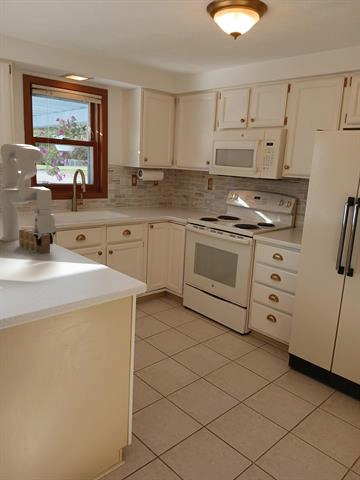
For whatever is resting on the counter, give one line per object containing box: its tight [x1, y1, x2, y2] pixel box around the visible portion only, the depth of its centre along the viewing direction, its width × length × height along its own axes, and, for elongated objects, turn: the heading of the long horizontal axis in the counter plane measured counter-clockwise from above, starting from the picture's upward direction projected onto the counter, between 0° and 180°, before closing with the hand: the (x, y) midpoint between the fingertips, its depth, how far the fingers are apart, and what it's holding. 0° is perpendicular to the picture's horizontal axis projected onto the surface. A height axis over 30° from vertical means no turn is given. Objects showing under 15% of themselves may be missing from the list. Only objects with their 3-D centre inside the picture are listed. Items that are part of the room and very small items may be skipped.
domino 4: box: [34, 233, 44, 252], centre depth 202 cm, size 2×5×10 cm, turn 144°
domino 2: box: [24, 229, 33, 249], centre depth 207 cm, size 2×5×10 cm, turn 144°
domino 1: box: [18, 228, 30, 247], centre depth 210 cm, size 2×5×10 cm, turn 144°
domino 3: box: [29, 232, 34, 251], centre depth 204 cm, size 2×5×10 cm, turn 144°
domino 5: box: [40, 233, 51, 255], centre depth 199 cm, size 2×5×10 cm, turn 144°
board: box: [16, 246, 53, 256], centre depth 206 cm, size 24×8×1 cm, turn 54°
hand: (44, 244), depth 199 cm, fingers open, 6 cm apart
